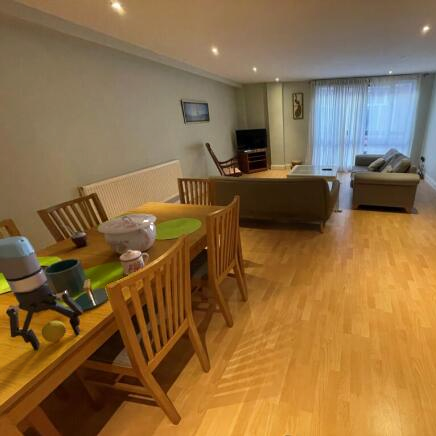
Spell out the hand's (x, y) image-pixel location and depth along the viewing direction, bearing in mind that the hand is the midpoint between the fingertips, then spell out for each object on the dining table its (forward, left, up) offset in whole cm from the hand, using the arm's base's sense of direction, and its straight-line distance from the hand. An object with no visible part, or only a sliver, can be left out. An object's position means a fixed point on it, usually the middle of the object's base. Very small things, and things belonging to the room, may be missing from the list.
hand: (58, 339), depth 81 cm
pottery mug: (-14, +49, 0) cm, 51 cm away
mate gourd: (-2, +81, 0) cm, 81 cm away
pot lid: (+8, +18, 0) cm, 20 cm away
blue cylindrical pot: (0, +31, 0) cm, 31 cm away
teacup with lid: (+25, +33, 0) cm, 41 cm away
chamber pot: (+25, +58, 0) cm, 63 cm away
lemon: (0, 0, 0) cm, 0 cm away
